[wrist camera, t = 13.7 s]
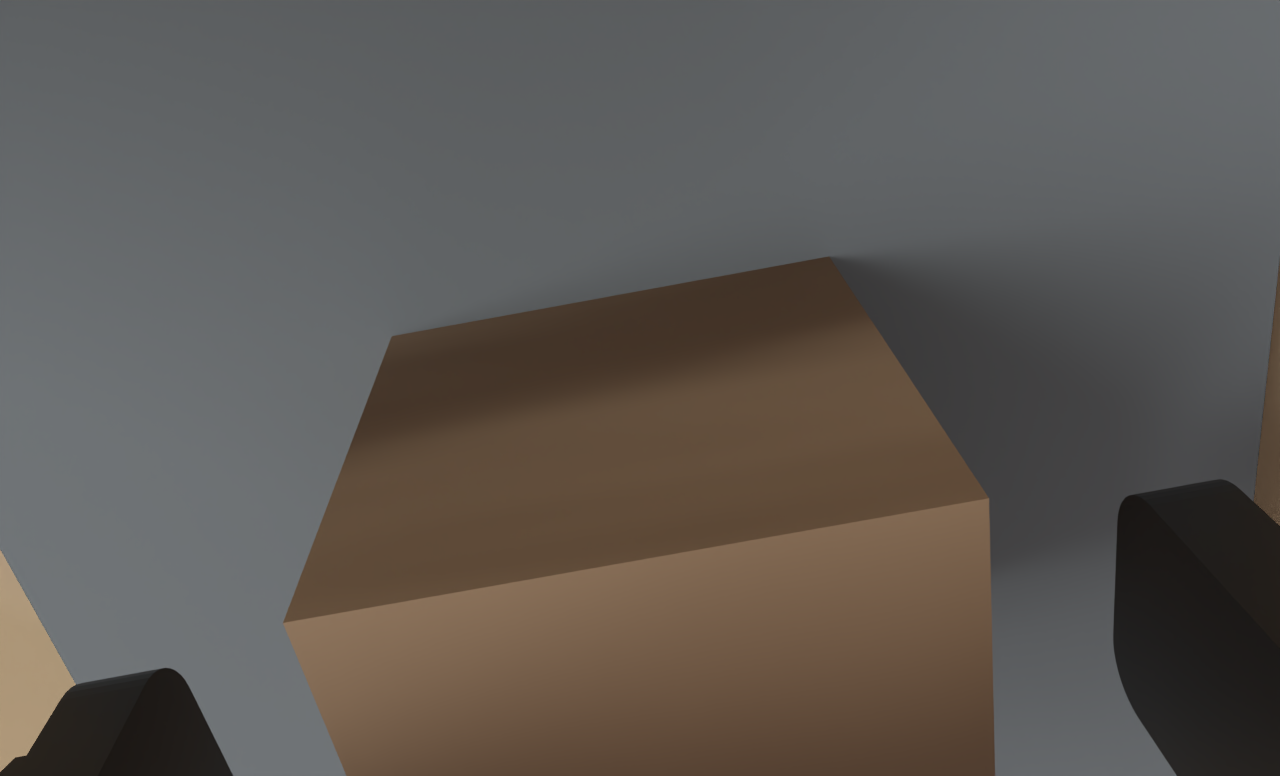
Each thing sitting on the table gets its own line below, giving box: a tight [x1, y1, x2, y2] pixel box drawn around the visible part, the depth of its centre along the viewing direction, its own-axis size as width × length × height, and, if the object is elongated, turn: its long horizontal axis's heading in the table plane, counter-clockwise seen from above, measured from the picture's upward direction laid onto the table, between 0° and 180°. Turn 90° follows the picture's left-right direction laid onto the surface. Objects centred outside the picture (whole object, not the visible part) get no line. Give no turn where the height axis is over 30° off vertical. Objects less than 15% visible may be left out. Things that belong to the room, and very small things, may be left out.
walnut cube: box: [283, 256, 995, 776], centre depth 10 cm, size 4×4×4 cm
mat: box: [0, 0, 1280, 776], centre depth 12 cm, size 14×14×1 cm
